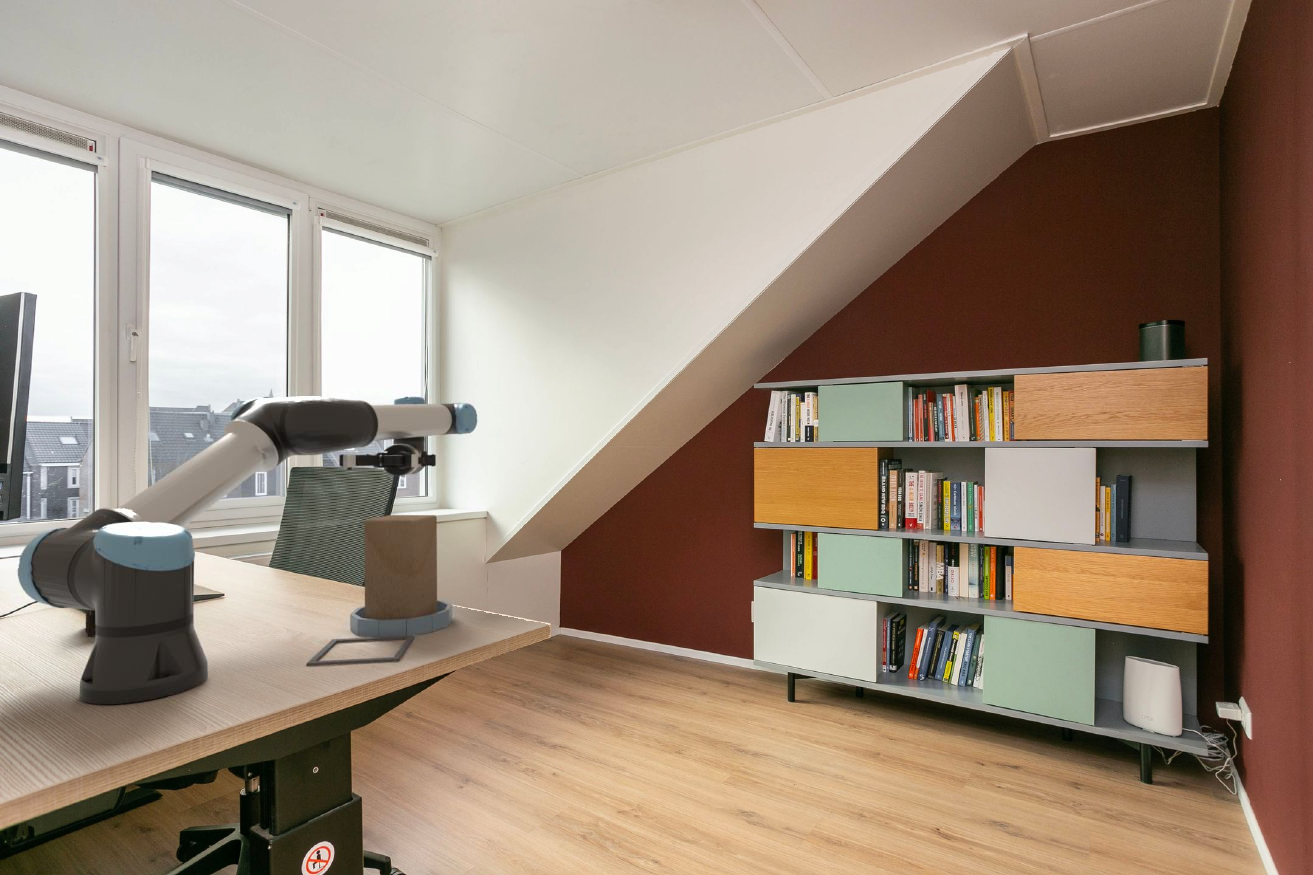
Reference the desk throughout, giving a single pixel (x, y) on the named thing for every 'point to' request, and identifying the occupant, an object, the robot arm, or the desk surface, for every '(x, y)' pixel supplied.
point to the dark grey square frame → (397, 657)
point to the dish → (401, 623)
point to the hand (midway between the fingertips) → (379, 460)
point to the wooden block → (400, 566)
